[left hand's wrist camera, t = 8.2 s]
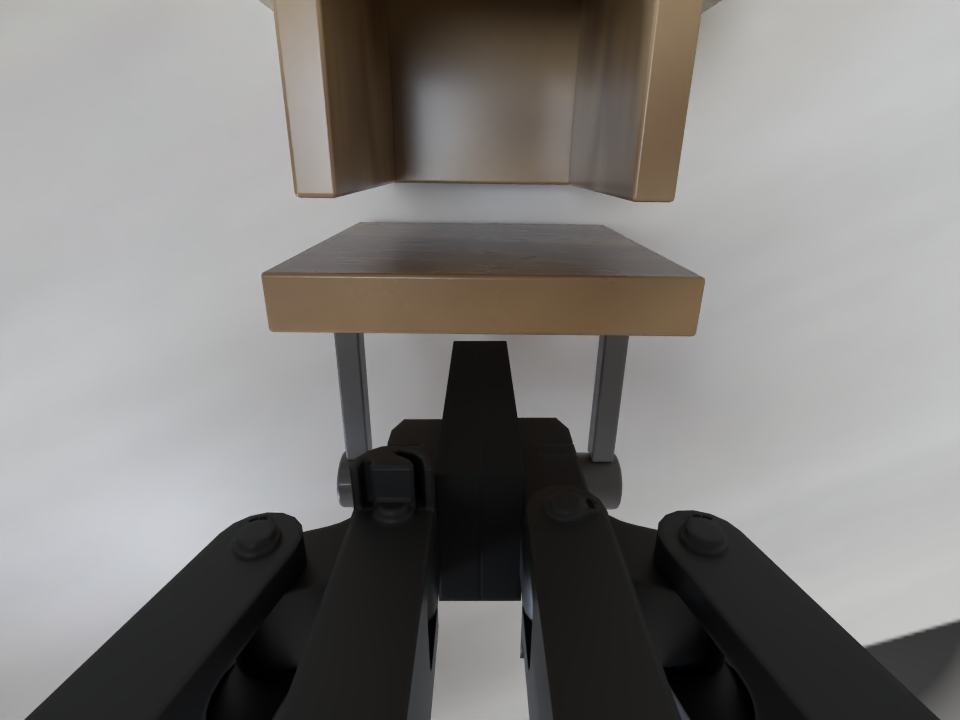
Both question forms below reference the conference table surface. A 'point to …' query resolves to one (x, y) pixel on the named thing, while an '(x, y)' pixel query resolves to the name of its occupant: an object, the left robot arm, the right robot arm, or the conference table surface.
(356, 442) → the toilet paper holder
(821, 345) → the conference table surface
